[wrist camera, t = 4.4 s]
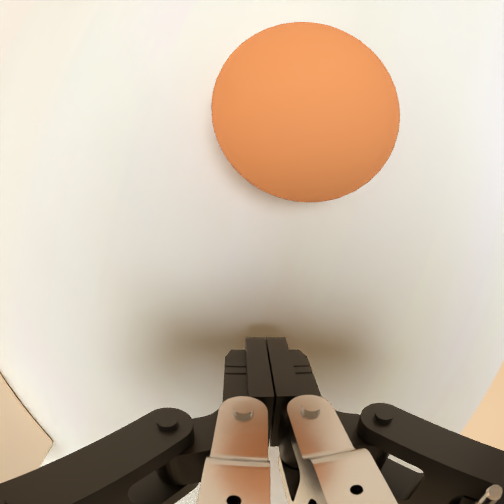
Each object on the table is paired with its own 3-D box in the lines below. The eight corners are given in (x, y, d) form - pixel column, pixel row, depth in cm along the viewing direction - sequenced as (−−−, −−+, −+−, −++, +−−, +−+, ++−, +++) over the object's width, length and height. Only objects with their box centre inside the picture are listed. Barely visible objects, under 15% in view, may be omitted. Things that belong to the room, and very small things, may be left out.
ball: (417, 41, 7) (365, 152, 12) (256, -8, 7) (242, 111, 12) (449, 125, 4) (350, 262, 9) (170, 39, 5) (182, 204, 10)
